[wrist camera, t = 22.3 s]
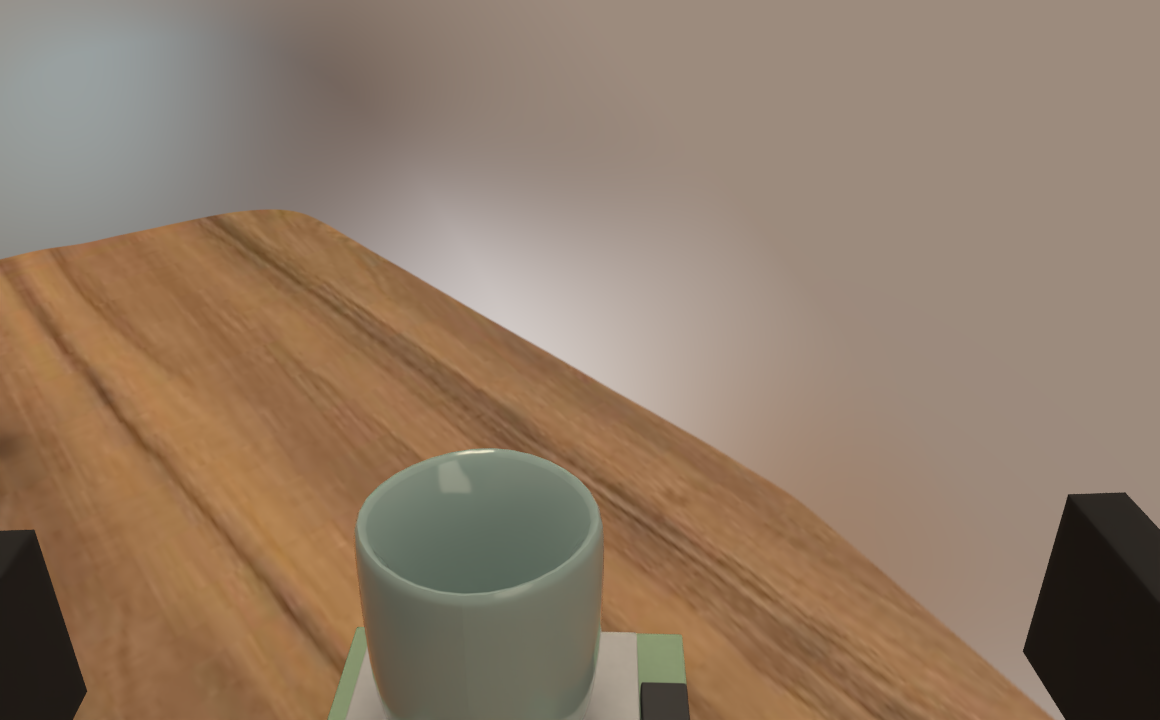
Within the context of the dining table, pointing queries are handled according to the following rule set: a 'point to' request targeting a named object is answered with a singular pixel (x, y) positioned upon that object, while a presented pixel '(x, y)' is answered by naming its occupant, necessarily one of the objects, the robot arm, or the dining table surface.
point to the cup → (482, 588)
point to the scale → (620, 695)
